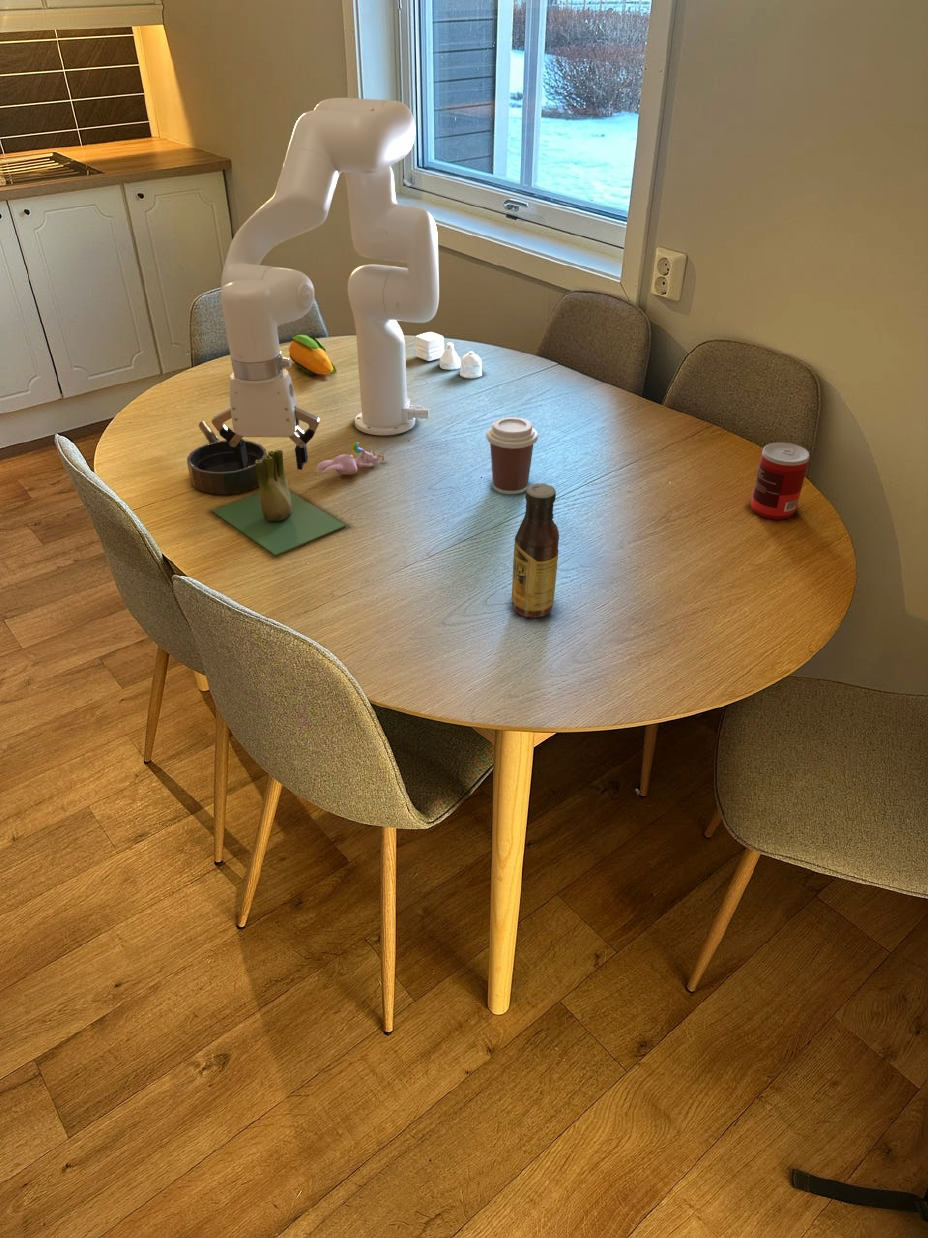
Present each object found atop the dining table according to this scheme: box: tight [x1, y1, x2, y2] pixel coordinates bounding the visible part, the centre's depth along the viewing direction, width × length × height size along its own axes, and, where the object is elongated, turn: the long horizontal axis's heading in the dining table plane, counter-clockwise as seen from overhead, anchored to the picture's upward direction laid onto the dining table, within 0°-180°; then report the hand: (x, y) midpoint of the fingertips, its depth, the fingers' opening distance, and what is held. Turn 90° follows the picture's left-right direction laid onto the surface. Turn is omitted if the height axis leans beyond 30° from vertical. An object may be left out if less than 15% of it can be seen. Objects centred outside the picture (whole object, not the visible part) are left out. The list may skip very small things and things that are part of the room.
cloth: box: [211, 491, 347, 557], centre depth 150 cm, size 20×14×1 cm
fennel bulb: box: [255, 449, 293, 521], centre depth 147 cm, size 6×5×12 cm
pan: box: [186, 439, 268, 496], centre depth 161 cm, size 14×14×4 cm
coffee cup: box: [485, 416, 539, 495], centre depth 157 cm, size 9×9×12 cm
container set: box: [414, 331, 483, 379], centre depth 209 cm, size 20×5×6 cm, turn 42°
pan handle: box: [198, 420, 221, 444], centre depth 170 cm, size 12×2×2 cm, turn 28°
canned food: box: [750, 441, 811, 520], centre depth 150 cm, size 8×8×11 cm
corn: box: [288, 334, 338, 375], centre depth 206 cm, size 7×8×20 cm
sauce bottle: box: [511, 482, 560, 619], centre depth 123 cm, size 7×6×20 cm
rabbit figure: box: [314, 441, 386, 476], centre depth 163 cm, size 6×6×15 cm
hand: (272, 465), depth 145 cm, fingers open, 9 cm apart
